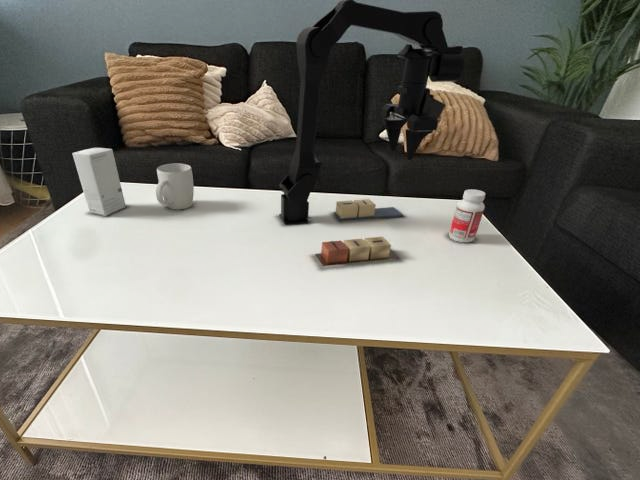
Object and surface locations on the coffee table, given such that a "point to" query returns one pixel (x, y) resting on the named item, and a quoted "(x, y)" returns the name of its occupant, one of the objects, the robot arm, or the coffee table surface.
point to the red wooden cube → (334, 252)
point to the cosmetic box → (99, 180)
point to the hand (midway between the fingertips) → (401, 155)
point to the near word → (364, 251)
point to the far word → (363, 210)
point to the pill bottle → (467, 216)
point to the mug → (175, 185)
